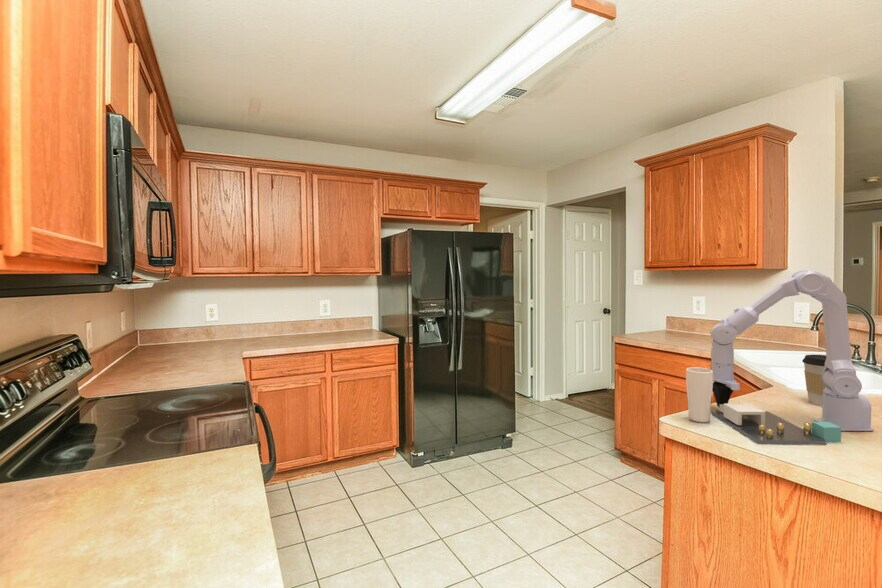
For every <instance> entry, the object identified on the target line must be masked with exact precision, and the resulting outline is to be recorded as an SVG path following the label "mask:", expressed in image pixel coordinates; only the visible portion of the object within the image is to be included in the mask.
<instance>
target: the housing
mask: <svg viewBox="0 0 882 588" xmlns="http://www.w3.org/2000/svg"><path fill="white" fill-rule="evenodd" d="M718 409H719V410H718V411H721V412H722V413H723V416H724V417H725V418H727V419H729V420H730V421H732V422H733V423H735V424H737V425H742V418H749V419H751V420H752V421H754V422H756V423H758V424H762V425H765V411H764V410H762V409H760V408H758V407H757V406H755V405H753V404H751V403H728V404H719V407H718Z"/></svg>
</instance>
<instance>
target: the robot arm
mask: <svg viewBox="0 0 882 588" xmlns="http://www.w3.org/2000/svg"><path fill="white" fill-rule="evenodd" d="M800 293H801V294H804V295H807V296H810V297H811V298H813V299H815V300H816V301H817V302H820V304H821V306H822V307H821V308H822V319H823V331H824V332H823V333H824V345H825V355H826V361H825V369H824V371H823V373H822V375H821V379H822V382H823V383H824V384H825V385H826V387H825V389H824V390H823V406H821V407H822V411H821V413H822V414H821V418H814V419H813V422H830V423H832V424H834V425H837V426H839V427H841V432H842V431H843V432H844V431H845V432H846V431H847V432H852V431H853V432H873V431H874V428H872V427H871V426H872V424H871V423H872V405H871V402H870V400H869V399H868V398H867V397H866V396H865V395H863V394H860V393H861V392H862V389H863V385H862V382H861V380H860V379H859V377H857V371H856V367H855V366H854V364H853V361H852V355H851V340H850V328H849V315H848V305H847V296H846V294H845V293H844V292H843V291H842V290H841V289H840V287H838V285H837V284H835V282H833V281H832V278H831V277H829V276H827V275H825V274H823V273H821V272H818V271H816V270H815V271H813V270H811V271H810V270H809V271H808V270H799V271H796V272H795V273H793V274H792V275H791V276H789V277H787V278H785V279H783V280H782V281H781V282H779V283H778V284H776V285H775V286H774V287H772V289H770V290H769V291H767V292H766V293H765V294H763V295H762V296H761V297H760V298H759V299H757V300H756V301H755V302H754V303H753V304H751V305H750V306H741V307H739V308H738V307H735V309H733V313H731V314H730V315H729V316H728V317H726V318H725V319H723V318H722V319H720V321H719V322H720V323H717V324H715V325H714V326H712V328H711V330H710V333H709V334H710V336H711V338H712V341H711V353H710V354H711V357H710V358H711V359H710V360H711V361H710V362H711V364H710V365H711V369H710V370H712V371H713V390H712V394H713V395H714V399H715V402H716V406H717V407H718V408H719V404H729V401H730V399H731V396H732V394H733V393H734V392H735V391H740V389H741V388H740V384H741V383H739V382H737V380H736V379H735V378H734V376H735V375H734V372H735V371H734V369H735V367H734V365H735V364H734V363H735V361H734V360H735V357H734V355H735V349H734V342H735V340H736V336H737V335H741V334H743V333H744V332H745V331H746V330H748V329H749V328H751V327H752V326H754V325H755V324H756V323H758V322H759V317H760V314H762V313H764V312H765V311H767V310H768V309H769V308H771V307H772V306H775V305H776V304H777V303H778V302H780V301H781V300H783V299H785V298H787V297H796V296H800Z"/></svg>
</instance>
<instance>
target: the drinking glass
mask: <svg viewBox="0 0 882 588" xmlns="http://www.w3.org/2000/svg"><path fill="white" fill-rule="evenodd" d="M685 371H686V372H685V385H686V395H687V396H686V397H687V408H688V409H687V410H688V419H689V420H691V421H693V422H696V423H702V424H703V423H704V424H705V423H709V422H710V420H711V407H712V397H713V383H714V381H713V371H712V370H711V369H709V368H706V367H698V366H697V367H696V366H694V367H687V368H686V369H685Z"/></svg>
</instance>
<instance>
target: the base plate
mask: <svg viewBox="0 0 882 588" xmlns="http://www.w3.org/2000/svg"><path fill="white" fill-rule="evenodd" d="M711 415H712V416H713V417H715V418H717V419H718V420H720V421H721V422H723V423H724V424H725V425H728V426H729V427H731V428H732V429H734V430H736V431H737V432H739V433H740V434H741V435H742V436H745V437H746V438H747V439H750V440H751V441H752V442H754V443H756V444H757V445H803V444H826V445H827V443H826V440H824V439H822V438H820V437H818V436H816V435H814V434H812V423H811V422H803V428H802V427H799V426H798V425H796V424H793V423H792V422H790V421H787V419H786V420H785V419H784V418H782V417H780V416H778V415H776V414H774V413H772V412H770V411H768V410H767V411H765V425H762V424H758V423H756V422H754V421H752V420H751V419H749V418H742V425H737V424H735V423H733V422H732V421H730V420H729V419H727V418H725V417H724V416H723V413H722V412H721V411H719V410H712V411H711Z"/></svg>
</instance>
